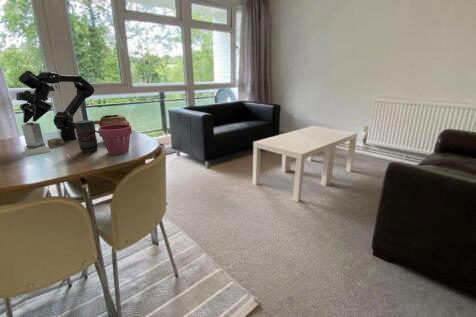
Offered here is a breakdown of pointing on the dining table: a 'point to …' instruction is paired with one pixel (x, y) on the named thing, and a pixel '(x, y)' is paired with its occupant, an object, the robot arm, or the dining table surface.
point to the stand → (37, 150)
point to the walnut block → (55, 142)
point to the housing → (33, 135)
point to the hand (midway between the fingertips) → (29, 122)
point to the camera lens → (86, 136)
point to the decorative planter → (111, 120)
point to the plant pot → (116, 138)
